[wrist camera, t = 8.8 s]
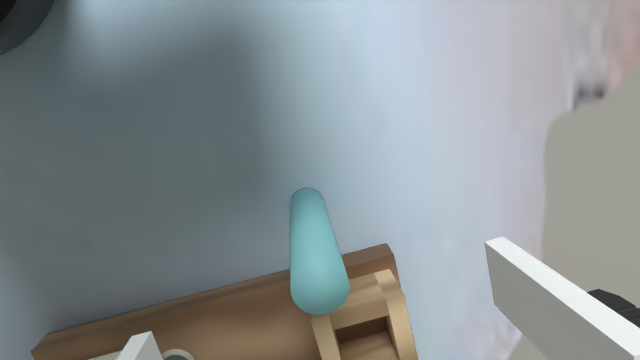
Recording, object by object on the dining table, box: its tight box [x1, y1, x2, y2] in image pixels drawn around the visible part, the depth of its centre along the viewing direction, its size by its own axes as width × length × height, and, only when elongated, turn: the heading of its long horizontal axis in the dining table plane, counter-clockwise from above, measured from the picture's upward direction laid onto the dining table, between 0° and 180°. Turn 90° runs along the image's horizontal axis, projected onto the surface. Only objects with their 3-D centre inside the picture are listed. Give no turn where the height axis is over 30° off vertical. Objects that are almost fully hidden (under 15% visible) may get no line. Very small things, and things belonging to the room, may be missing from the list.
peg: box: [290, 188, 350, 315], centre depth 22 cm, size 2×2×12 cm
